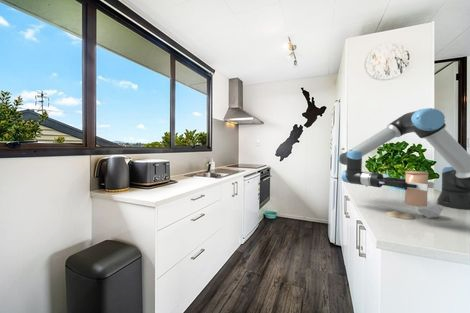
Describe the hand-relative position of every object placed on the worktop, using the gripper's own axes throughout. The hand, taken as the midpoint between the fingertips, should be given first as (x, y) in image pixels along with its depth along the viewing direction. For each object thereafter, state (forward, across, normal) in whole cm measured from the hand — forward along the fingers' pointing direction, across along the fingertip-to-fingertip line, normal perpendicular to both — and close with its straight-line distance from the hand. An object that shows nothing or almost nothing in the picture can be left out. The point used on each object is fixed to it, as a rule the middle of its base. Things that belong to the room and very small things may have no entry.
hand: (430, 186), depth 85 cm
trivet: (-13, -6, -18) cm, 23 cm away
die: (-4, -16, -18) cm, 24 cm away
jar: (-5, 0, -9) cm, 10 cm away
